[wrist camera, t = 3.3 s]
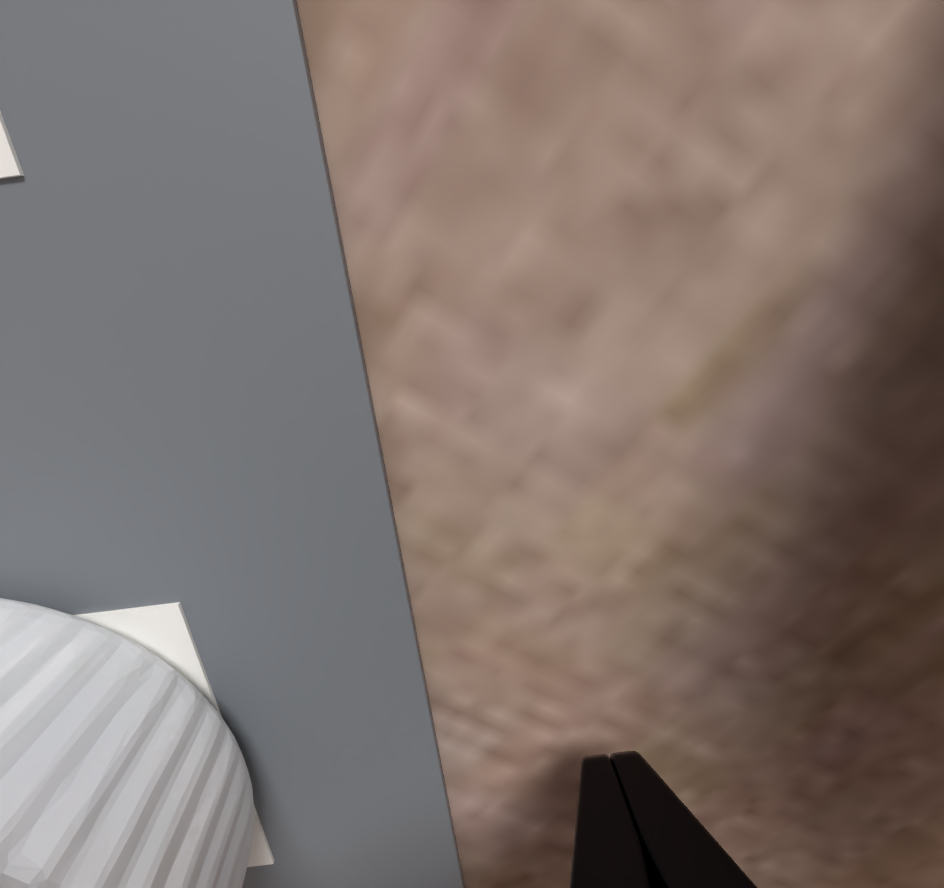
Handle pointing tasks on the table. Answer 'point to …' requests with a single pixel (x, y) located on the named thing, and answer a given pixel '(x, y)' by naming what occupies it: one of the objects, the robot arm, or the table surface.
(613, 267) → the table surface
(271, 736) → the slate mat
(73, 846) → the ramekin
